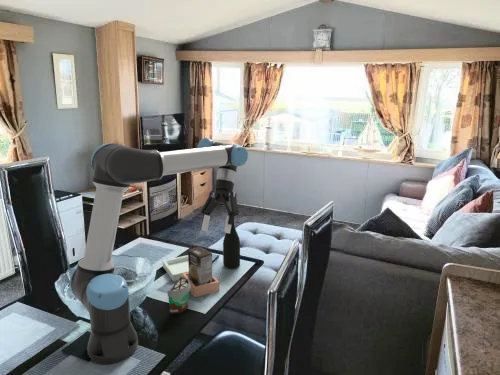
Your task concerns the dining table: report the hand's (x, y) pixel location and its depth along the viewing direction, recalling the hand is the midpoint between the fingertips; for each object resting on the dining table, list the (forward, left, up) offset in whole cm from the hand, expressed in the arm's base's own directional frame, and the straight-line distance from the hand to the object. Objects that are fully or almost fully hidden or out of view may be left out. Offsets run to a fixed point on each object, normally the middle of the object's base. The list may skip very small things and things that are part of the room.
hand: (215, 231), depth 144 cm
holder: (-4, +6, -26) cm, 27 cm away
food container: (-16, -5, -26) cm, 31 cm away
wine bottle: (+16, +17, -26) cm, 35 cm away
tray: (-4, +24, -26) cm, 35 cm away
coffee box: (-4, +6, -26) cm, 27 cm away
